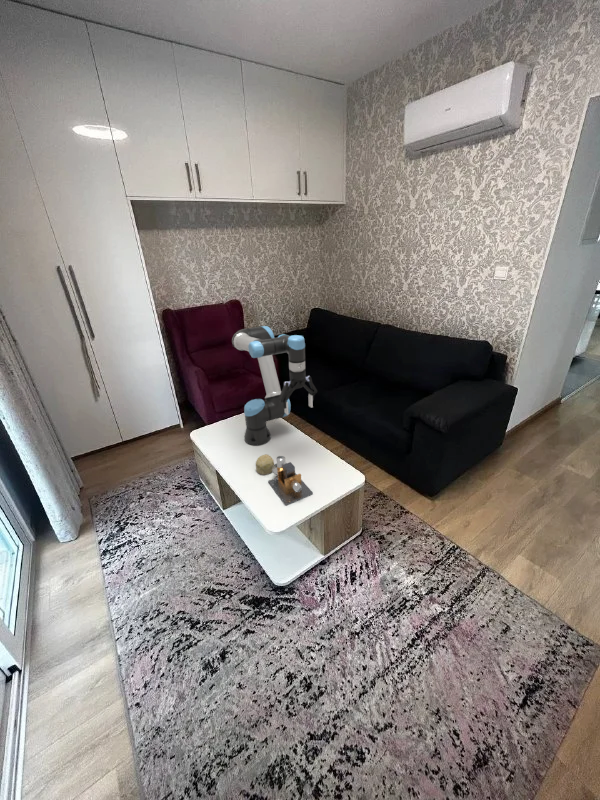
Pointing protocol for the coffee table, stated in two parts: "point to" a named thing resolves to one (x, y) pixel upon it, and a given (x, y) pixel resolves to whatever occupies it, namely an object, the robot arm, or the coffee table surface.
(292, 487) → the multicoloured piece
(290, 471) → the dark gray rectangular block
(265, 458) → the decorative object
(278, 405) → the robot arm
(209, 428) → the coffee table surface
